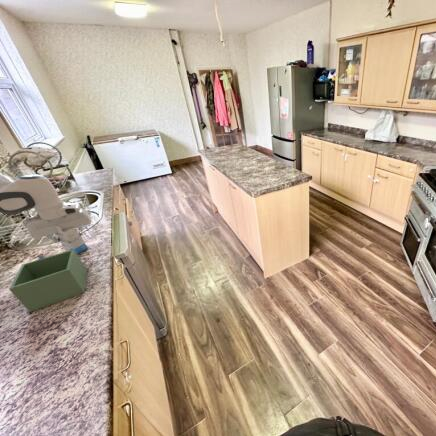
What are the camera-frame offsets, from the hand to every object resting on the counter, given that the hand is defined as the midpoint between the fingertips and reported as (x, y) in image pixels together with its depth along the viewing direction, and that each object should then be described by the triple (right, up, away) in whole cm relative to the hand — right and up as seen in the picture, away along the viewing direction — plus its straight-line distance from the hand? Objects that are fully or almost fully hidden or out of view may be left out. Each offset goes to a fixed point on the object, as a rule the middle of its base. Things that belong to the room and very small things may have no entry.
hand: (70, 238), depth 106 cm
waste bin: (+15, -17, -19) cm, 30 cm away
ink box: (0, -6, +3) cm, 7 cm away
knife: (-6, -11, -6) cm, 14 cm away
